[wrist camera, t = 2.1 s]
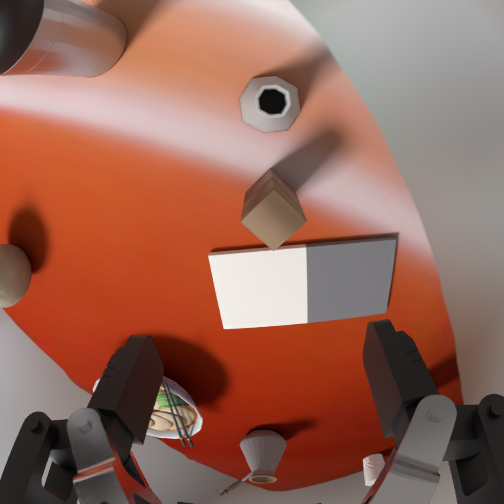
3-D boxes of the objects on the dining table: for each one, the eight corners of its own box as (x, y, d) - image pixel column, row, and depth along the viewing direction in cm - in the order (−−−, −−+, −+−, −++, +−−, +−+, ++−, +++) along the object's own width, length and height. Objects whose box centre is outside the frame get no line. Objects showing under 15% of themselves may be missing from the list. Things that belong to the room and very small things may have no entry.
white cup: (359, 463, 76) (363, 487, 67) (363, 455, 72) (368, 480, 64) (380, 459, 76) (385, 482, 67) (386, 450, 72) (392, 475, 63)
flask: (306, 82, 30) (323, 72, 21) (293, 139, 33) (305, 149, 24) (245, 70, 30) (238, 54, 21) (233, 127, 33) (223, 133, 24)
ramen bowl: (89, 335, 50) (72, 364, 42) (202, 349, 49) (194, 385, 42) (122, 406, 61) (113, 432, 54) (212, 420, 61) (208, 449, 54)
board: (224, 324, 46) (224, 328, 46) (209, 252, 41) (208, 255, 40) (383, 309, 44) (385, 312, 44) (393, 236, 39) (396, 239, 38)
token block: (270, 215, 38) (273, 251, 29) (245, 192, 37) (240, 221, 28) (295, 192, 36) (306, 221, 28) (270, 168, 35) (273, 189, 26)
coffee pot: (264, 421, 60) (264, 477, 47) (295, 435, 64) (298, 486, 50) (207, 444, 68) (200, 490, 54) (237, 456, 71) (235, 500, 58)
